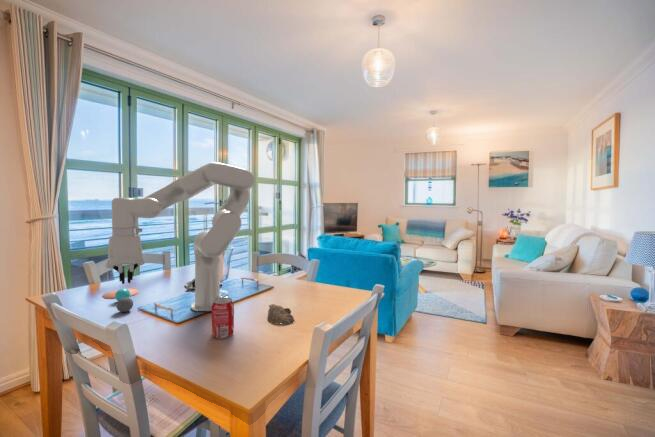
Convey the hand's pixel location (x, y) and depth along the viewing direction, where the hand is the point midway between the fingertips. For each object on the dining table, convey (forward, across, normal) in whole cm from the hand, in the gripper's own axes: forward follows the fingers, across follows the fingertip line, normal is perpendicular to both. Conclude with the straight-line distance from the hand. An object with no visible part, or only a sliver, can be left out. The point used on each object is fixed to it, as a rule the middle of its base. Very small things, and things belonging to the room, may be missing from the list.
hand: (126, 282), depth 109 cm
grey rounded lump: (+11, 0, -10) cm, 15 cm away
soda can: (+14, -25, +31) cm, 42 cm away
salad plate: (+15, -34, -30) cm, 48 cm away
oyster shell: (+15, -48, +30) cm, 58 cm away
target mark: (+14, 0, -36) cm, 39 cm away
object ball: (+11, 0, -24) cm, 27 cm away
